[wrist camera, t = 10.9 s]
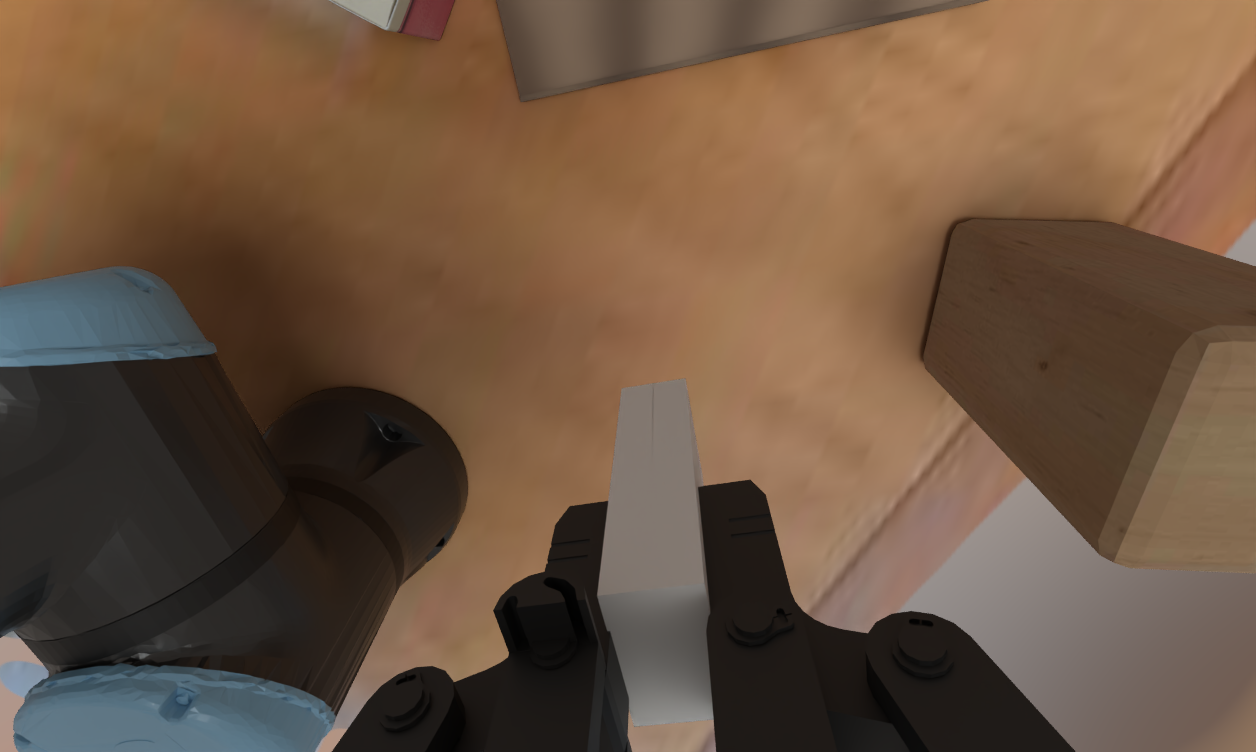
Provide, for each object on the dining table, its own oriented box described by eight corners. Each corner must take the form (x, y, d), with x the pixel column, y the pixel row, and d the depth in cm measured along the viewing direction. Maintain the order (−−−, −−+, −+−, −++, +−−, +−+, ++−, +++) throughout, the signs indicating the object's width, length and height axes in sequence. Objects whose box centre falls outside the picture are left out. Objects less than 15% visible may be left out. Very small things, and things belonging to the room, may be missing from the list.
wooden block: (948, 215, 38) (1211, 335, 20) (1118, 219, 38) (1541, 344, 20) (914, 366, 42) (1105, 578, 24) (1066, 371, 42) (1375, 589, 24)
